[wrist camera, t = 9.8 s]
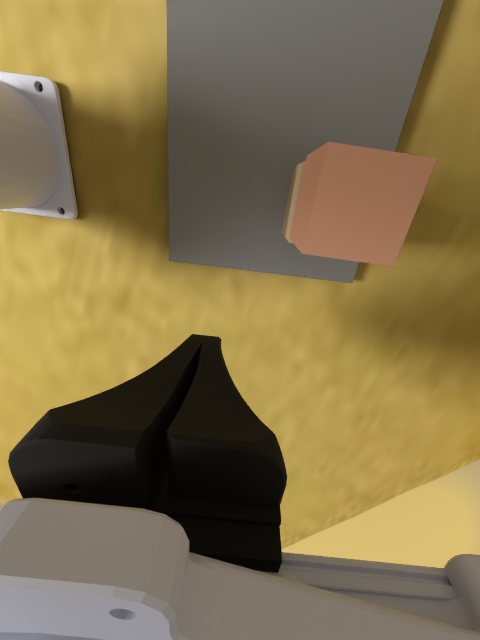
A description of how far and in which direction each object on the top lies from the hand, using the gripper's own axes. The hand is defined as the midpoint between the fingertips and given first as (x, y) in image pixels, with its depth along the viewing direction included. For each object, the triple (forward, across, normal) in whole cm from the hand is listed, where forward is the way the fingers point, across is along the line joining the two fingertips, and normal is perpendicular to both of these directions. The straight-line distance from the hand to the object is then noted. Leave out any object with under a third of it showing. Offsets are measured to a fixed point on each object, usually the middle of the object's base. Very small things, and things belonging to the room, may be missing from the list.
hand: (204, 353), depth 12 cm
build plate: (+10, -3, -12) cm, 16 cm away
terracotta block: (+5, -6, -7) cm, 10 cm away
